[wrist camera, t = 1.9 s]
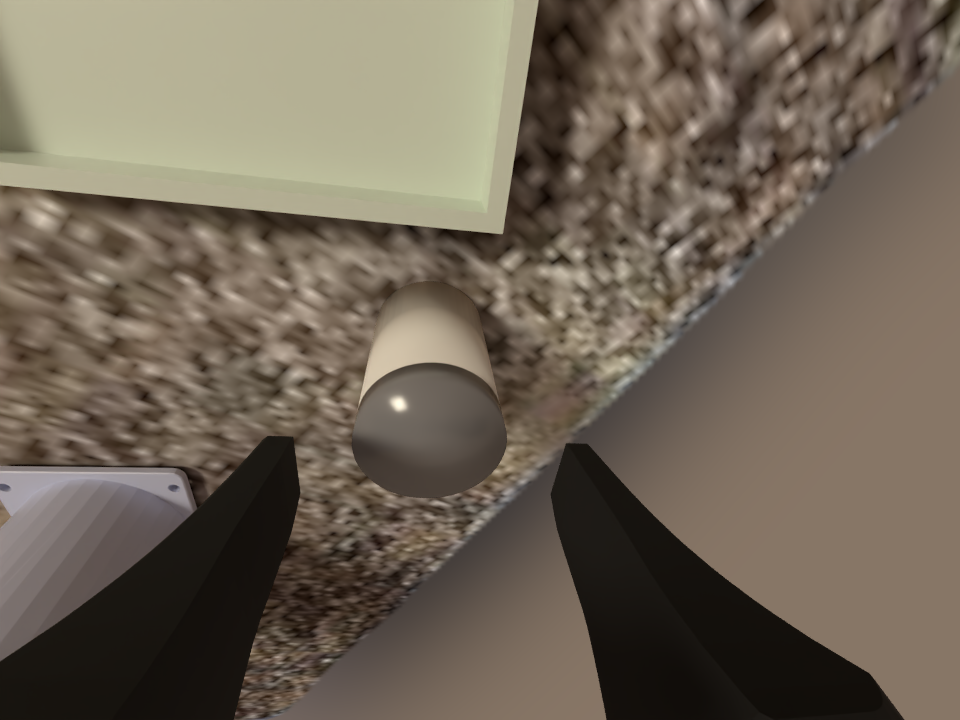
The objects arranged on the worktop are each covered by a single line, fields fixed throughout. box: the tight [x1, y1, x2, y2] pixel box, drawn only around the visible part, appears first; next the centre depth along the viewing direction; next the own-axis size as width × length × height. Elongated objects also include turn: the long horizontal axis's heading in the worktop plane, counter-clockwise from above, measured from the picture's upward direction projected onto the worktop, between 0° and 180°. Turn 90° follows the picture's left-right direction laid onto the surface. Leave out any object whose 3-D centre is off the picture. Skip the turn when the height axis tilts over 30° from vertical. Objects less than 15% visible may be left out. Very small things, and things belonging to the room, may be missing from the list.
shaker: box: [352, 281, 507, 498], centre depth 15 cm, size 4×4×7 cm
